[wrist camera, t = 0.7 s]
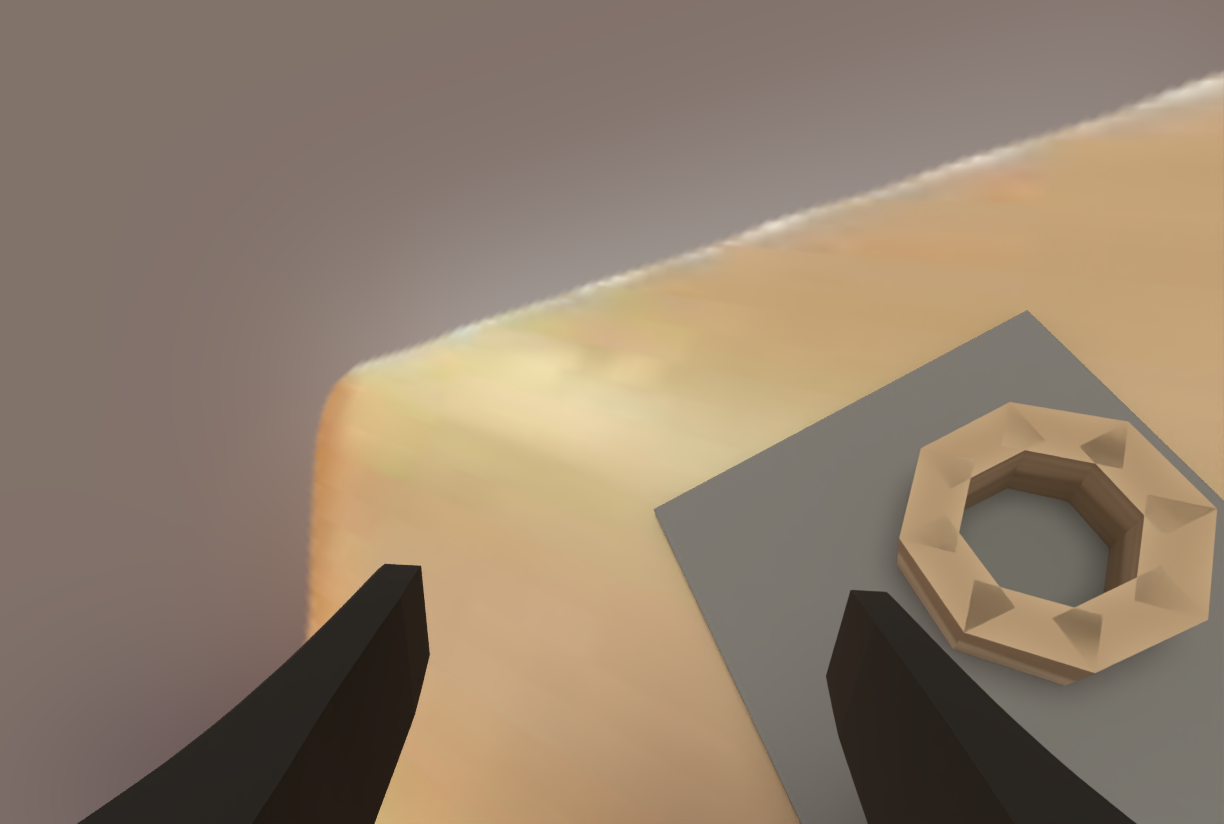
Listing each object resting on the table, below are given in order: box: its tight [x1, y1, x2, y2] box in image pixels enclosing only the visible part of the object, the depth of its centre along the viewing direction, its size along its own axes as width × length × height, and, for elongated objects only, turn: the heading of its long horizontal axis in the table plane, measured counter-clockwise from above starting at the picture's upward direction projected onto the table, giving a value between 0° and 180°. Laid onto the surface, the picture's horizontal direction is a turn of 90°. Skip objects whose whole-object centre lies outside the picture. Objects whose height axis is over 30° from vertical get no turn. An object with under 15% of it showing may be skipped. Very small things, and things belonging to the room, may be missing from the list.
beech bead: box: [897, 402, 1217, 686], centre depth 21 cm, size 8×8×4 cm
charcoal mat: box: [653, 310, 1224, 824], centre depth 22 cm, size 20×17×1 cm
